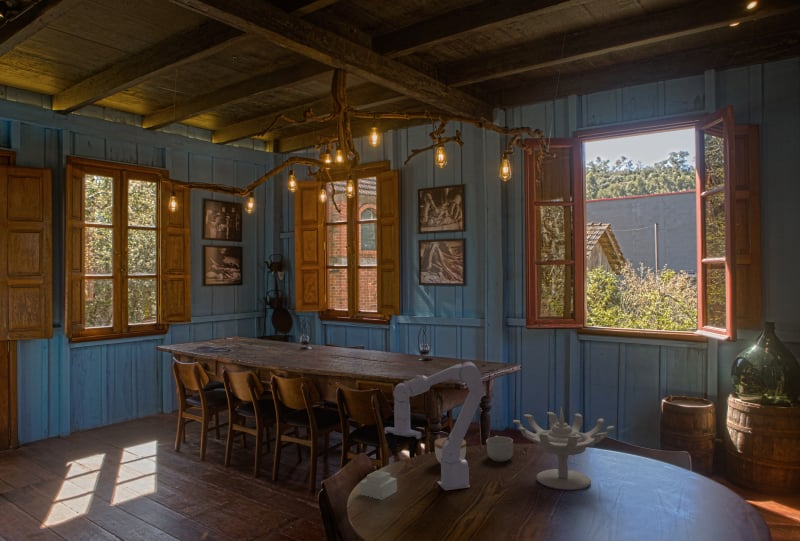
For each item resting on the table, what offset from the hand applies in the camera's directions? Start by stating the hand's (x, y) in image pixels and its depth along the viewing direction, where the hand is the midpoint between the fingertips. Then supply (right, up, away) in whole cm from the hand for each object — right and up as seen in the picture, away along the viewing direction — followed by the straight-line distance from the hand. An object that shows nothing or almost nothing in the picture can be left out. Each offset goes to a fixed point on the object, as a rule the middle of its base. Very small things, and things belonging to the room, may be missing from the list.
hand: (403, 455), depth 197 cm
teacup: (+40, -11, +28) cm, 50 cm away
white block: (-8, -10, -7) cm, 15 cm away
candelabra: (+57, -10, 0) cm, 58 cm away
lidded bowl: (+19, -11, +21) cm, 30 cm away
